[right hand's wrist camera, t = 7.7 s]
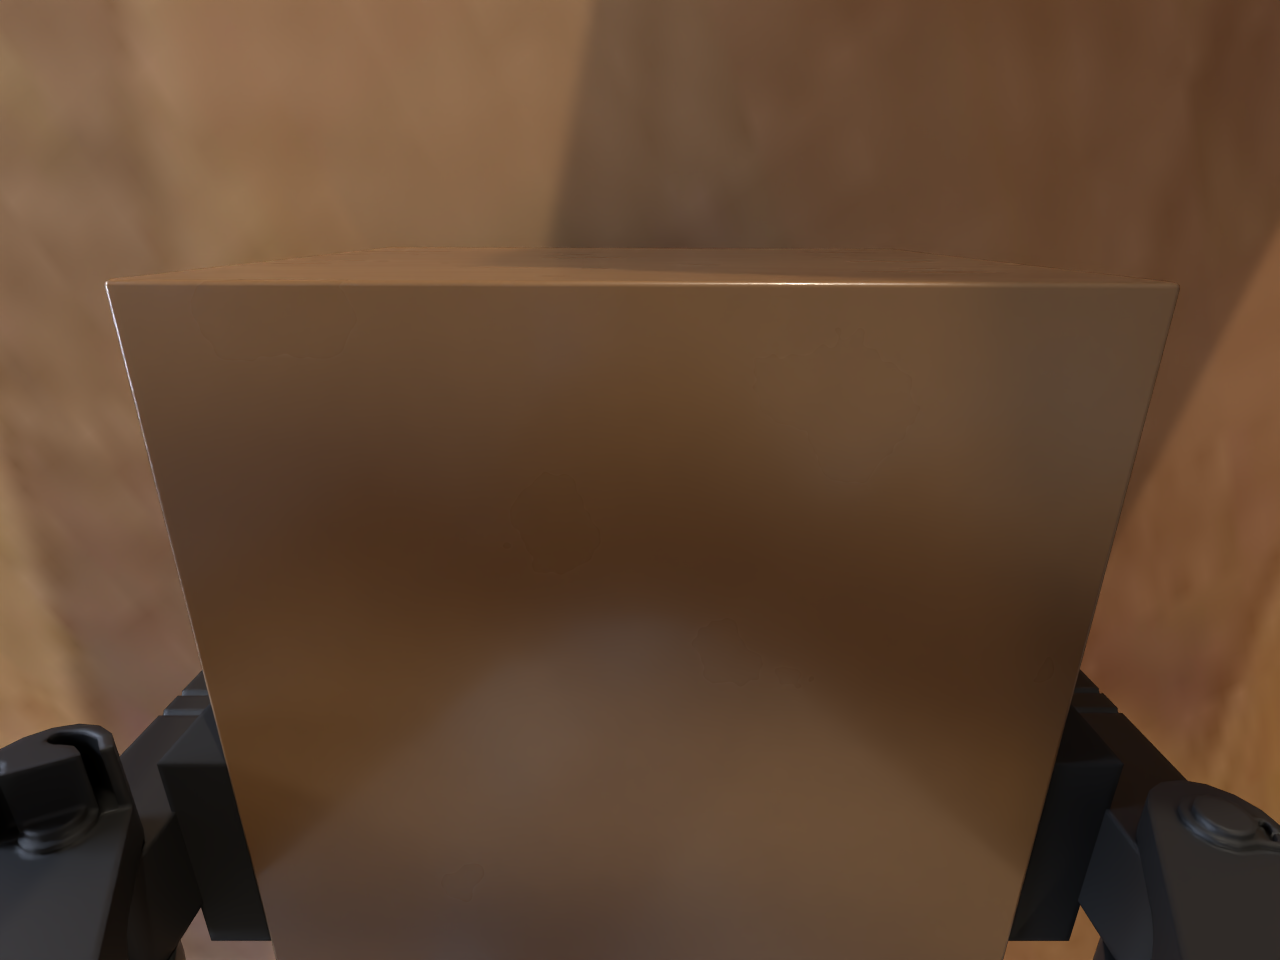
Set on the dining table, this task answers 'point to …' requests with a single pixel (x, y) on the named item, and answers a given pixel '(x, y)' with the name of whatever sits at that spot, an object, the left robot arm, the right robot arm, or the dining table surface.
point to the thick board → (640, 585)
